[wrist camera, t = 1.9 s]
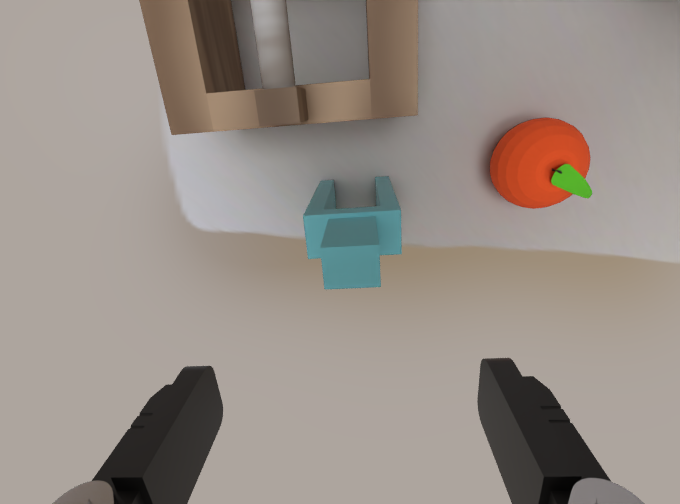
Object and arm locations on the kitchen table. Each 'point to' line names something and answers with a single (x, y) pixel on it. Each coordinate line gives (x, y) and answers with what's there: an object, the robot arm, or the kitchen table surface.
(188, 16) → the wooden rod stand
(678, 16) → the kitchen table surface
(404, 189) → the kitchen table surface
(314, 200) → the teal tuning fork
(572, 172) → the clementine
